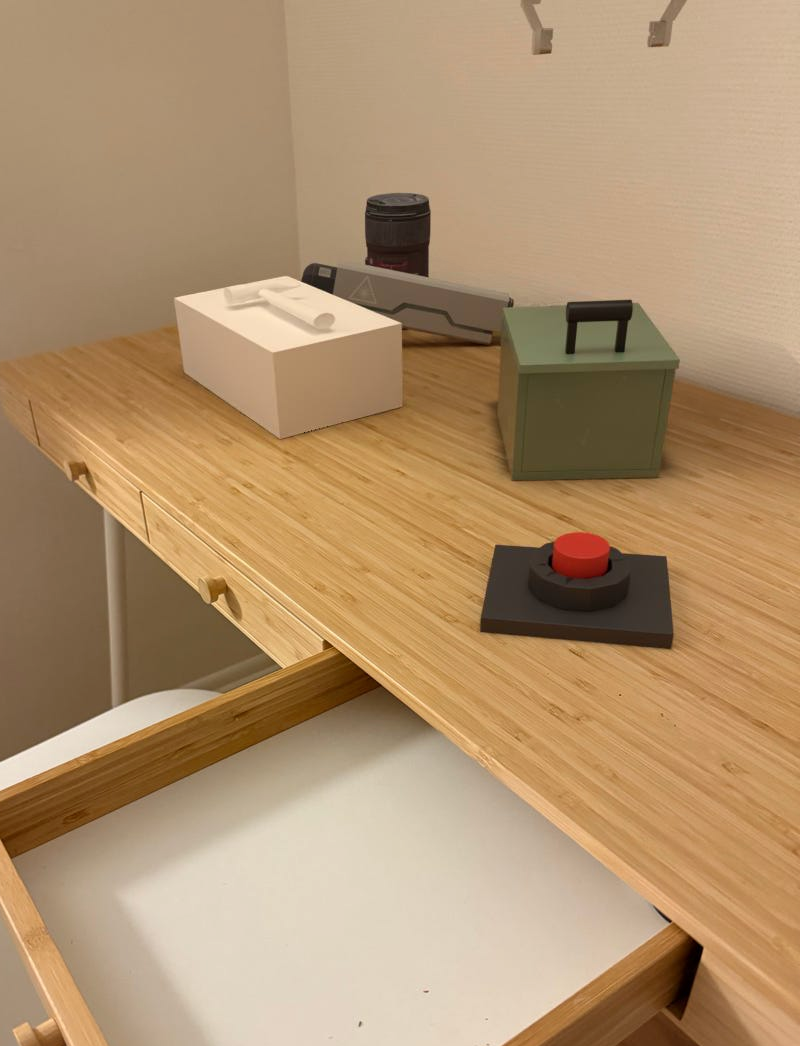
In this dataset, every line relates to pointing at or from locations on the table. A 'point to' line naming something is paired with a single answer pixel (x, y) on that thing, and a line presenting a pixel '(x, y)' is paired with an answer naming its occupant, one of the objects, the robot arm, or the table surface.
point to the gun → (415, 299)
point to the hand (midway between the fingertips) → (599, 50)
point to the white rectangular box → (291, 354)
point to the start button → (580, 555)
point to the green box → (582, 421)
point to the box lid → (586, 338)
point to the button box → (579, 599)
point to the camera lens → (398, 232)
